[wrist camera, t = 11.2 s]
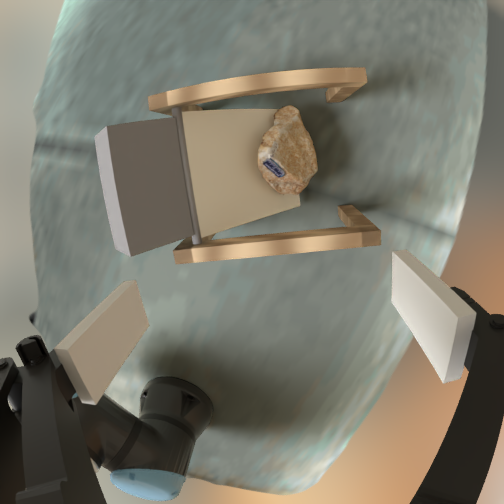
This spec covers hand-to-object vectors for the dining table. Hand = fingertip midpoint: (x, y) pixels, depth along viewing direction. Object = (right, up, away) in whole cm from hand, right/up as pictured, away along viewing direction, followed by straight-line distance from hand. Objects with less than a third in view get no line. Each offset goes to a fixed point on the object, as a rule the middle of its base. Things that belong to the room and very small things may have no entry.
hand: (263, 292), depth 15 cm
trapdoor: (-7, +11, +21) cm, 25 cm away
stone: (+3, +15, +22) cm, 27 cm away
